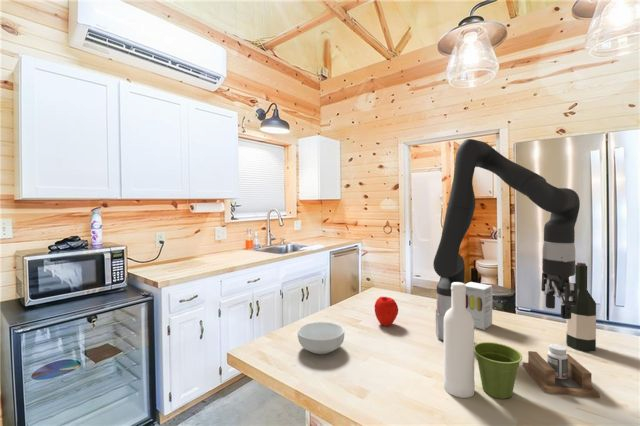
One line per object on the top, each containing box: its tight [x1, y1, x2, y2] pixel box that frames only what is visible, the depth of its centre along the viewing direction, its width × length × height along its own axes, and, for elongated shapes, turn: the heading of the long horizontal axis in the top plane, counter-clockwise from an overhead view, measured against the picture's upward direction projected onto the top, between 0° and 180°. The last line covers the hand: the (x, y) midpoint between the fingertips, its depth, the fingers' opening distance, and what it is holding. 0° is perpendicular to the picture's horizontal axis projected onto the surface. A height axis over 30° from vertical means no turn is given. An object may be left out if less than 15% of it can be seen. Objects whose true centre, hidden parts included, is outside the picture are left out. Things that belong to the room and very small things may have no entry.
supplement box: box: [464, 281, 493, 331], centre depth 133 cm, size 10×9×17 cm
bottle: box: [442, 282, 476, 399], centre depth 86 cm, size 8×8×30 cm
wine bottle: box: [565, 262, 597, 353], centre depth 110 cm, size 8×8×30 cm
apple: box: [374, 296, 399, 327], centre depth 134 cm, size 10×10×12 cm
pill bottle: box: [547, 343, 568, 379], centre depth 91 cm, size 5×5×8 cm
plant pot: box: [474, 341, 523, 400], centre depth 86 cm, size 12×12×11 cm
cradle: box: [522, 350, 601, 398], centre depth 90 cm, size 13×14×6 cm
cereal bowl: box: [297, 321, 345, 355], centre depth 113 cm, size 17×17×7 cm
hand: (557, 313), depth 90 cm, fingers open, 8 cm apart
